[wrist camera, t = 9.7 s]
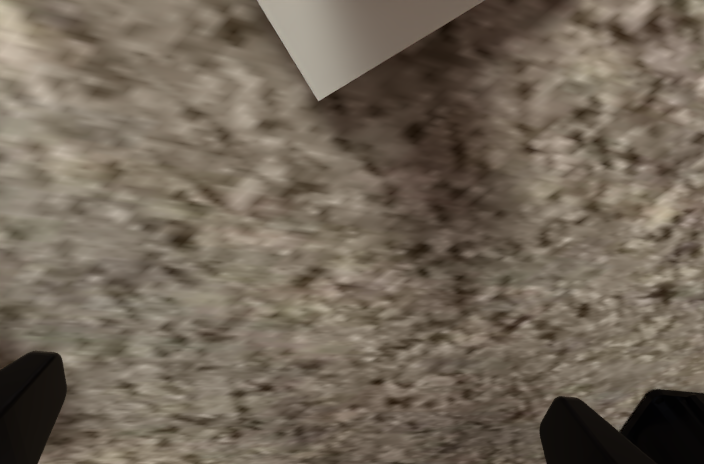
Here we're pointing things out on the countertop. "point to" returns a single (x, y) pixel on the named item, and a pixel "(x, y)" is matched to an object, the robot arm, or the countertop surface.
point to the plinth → (353, 33)
